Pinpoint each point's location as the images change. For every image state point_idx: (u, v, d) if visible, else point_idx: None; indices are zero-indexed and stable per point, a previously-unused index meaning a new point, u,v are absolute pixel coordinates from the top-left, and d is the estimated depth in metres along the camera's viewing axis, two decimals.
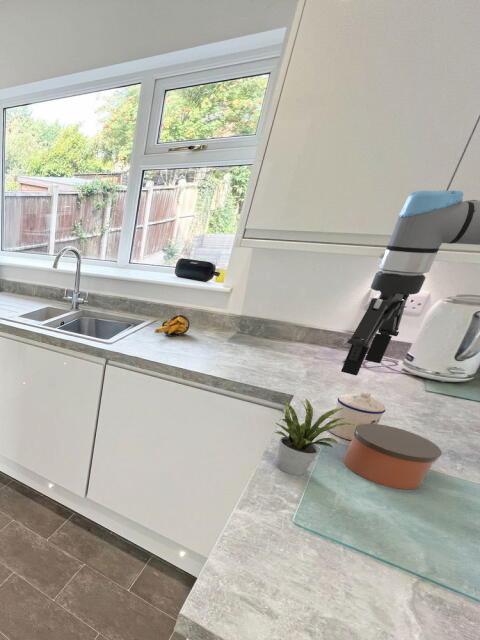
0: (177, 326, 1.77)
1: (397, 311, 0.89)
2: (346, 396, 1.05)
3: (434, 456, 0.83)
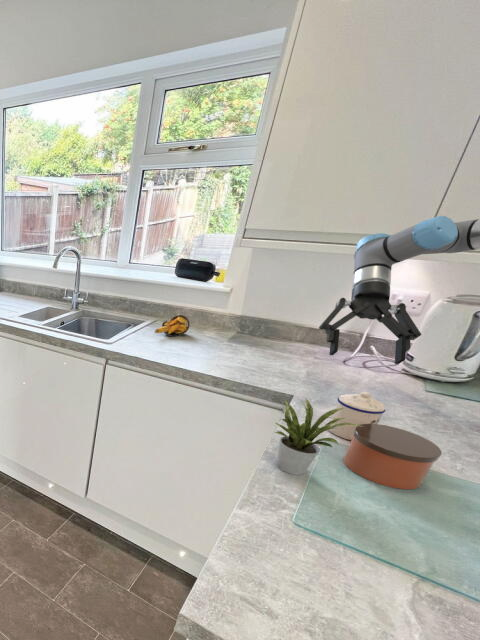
0: (177, 326, 1.77)
1: (381, 311, 1.09)
2: (346, 396, 1.05)
3: (434, 456, 0.83)
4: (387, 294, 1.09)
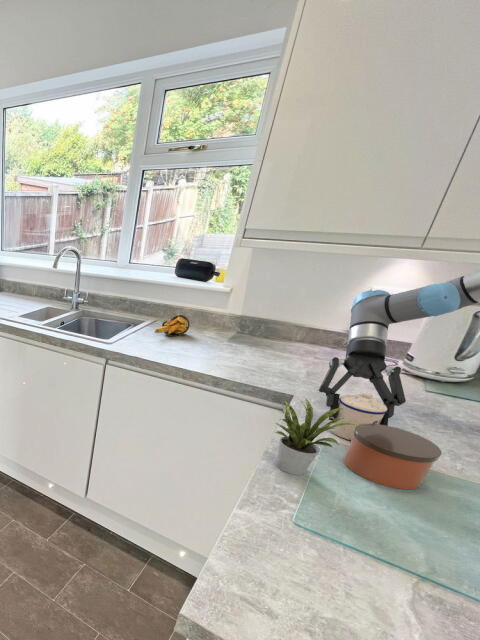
0: (177, 326, 1.77)
1: (373, 371, 1.05)
2: (348, 396, 1.05)
3: (434, 456, 0.83)
4: (382, 354, 1.05)
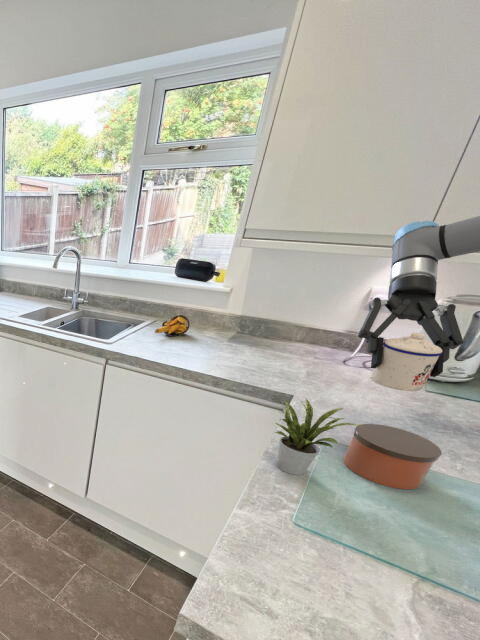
0: (177, 326, 1.77)
1: (423, 311, 0.91)
2: (394, 339, 0.91)
3: (434, 456, 0.83)
4: (433, 290, 0.91)
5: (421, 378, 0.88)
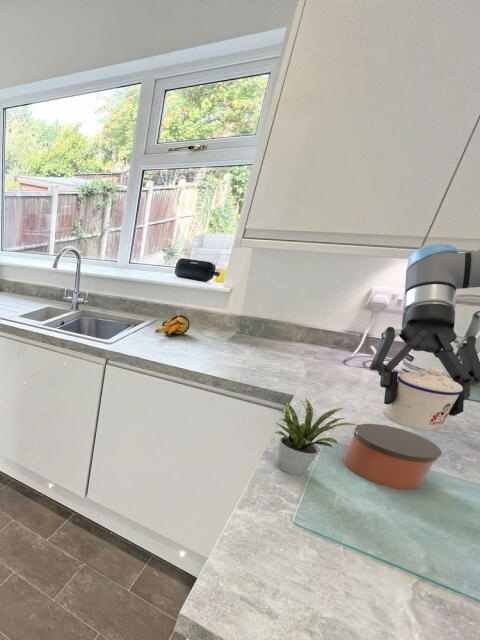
0: (177, 326, 1.77)
1: (440, 343, 0.84)
2: (409, 374, 0.84)
3: (434, 456, 0.83)
4: (451, 321, 0.84)
5: (440, 417, 0.81)
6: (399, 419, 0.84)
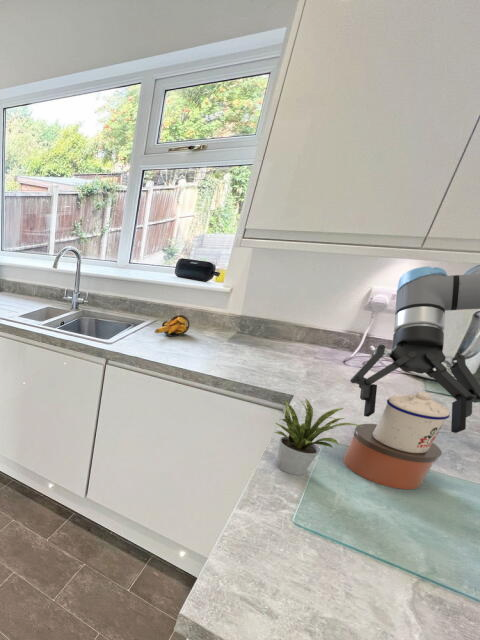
0: (177, 326, 1.77)
1: (432, 364, 0.86)
2: (398, 398, 0.86)
3: (434, 456, 0.83)
4: (440, 343, 0.86)
5: (427, 440, 0.83)
6: (388, 441, 0.86)
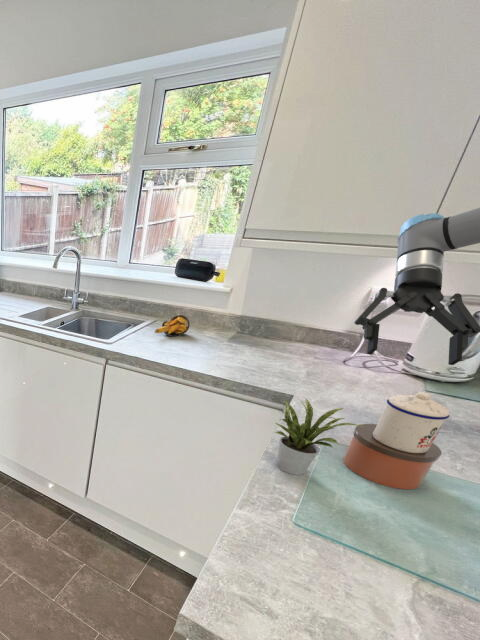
0: (177, 326, 1.77)
1: (431, 303, 0.92)
2: (398, 398, 0.86)
3: (434, 456, 0.83)
4: (439, 283, 0.92)
5: (427, 440, 0.83)
6: (388, 441, 0.86)
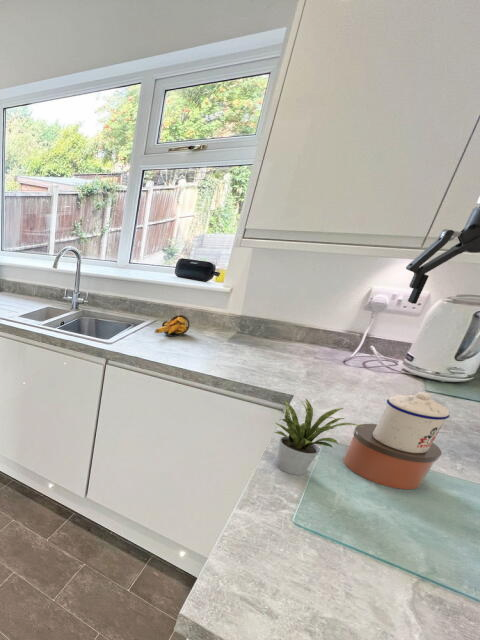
0: (177, 326, 1.77)
1: None
2: (398, 398, 0.86)
3: (434, 456, 0.83)
4: None
5: (427, 440, 0.83)
6: (388, 441, 0.86)
